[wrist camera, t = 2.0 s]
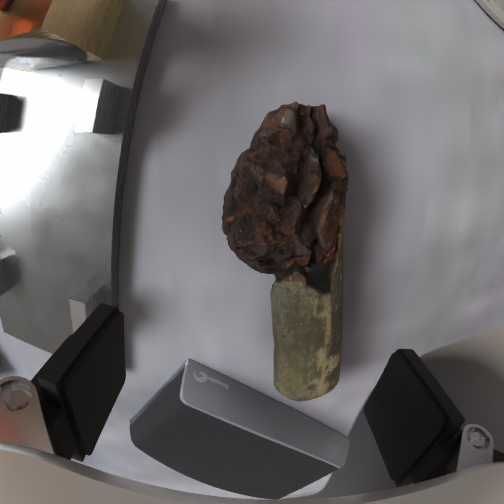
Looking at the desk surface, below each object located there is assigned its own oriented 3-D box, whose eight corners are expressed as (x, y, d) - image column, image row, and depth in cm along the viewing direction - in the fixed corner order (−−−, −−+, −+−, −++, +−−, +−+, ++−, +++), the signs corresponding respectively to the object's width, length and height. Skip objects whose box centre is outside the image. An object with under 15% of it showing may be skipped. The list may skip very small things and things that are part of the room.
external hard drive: (194, 348, 22) (184, 383, 18) (354, 433, 25) (363, 462, 21) (128, 419, 25) (116, 448, 21) (272, 482, 28) (273, 507, 25)
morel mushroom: (333, 356, 22) (350, 408, 16) (247, 364, 22) (245, 419, 17) (330, 110, 16) (361, 93, 11) (218, 117, 16) (201, 101, 11)
